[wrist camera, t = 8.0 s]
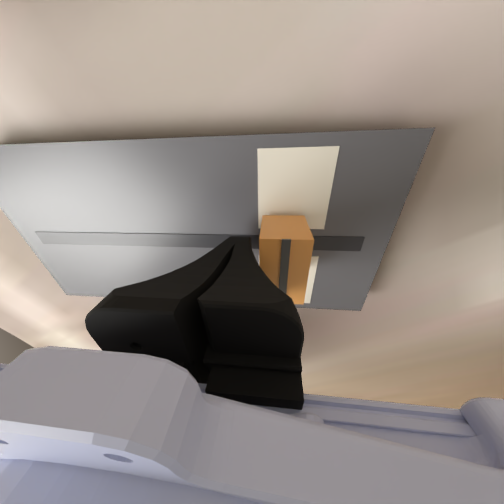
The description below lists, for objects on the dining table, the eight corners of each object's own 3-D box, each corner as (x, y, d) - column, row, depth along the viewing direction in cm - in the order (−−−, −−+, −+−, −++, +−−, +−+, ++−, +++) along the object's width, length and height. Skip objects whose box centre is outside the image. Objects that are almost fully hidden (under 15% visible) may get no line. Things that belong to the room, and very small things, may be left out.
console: (351, 292, 16) (361, 311, 14) (85, 280, 19) (66, 295, 17) (407, 129, 10) (436, 127, 8) (-4, 145, 13) (-49, 146, 11)
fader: (297, 271, 13) (303, 306, 10) (262, 270, 13) (259, 303, 10) (304, 215, 10) (314, 240, 8) (262, 214, 11) (259, 239, 8)
